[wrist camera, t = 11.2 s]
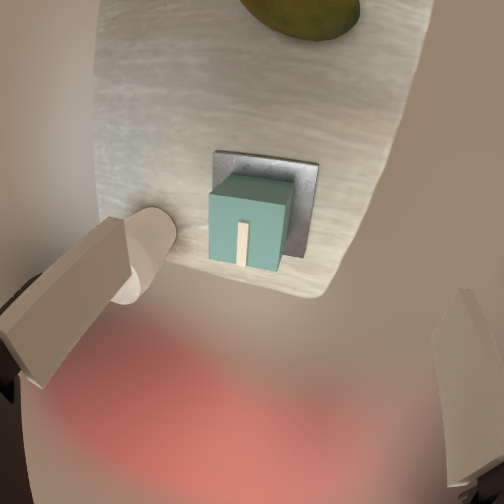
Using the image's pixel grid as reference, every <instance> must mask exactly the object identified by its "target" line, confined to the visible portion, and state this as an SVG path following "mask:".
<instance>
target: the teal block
mask: <svg viewBox="0 0 504 504" xmlns="http://www.w3.org/2000/svg"><path fill="white" fill-rule="evenodd" d="M293 187H294V183H292V182H285V181H279V180H272V179H265V178H258V177H251V176H243V175H235V174H230V175H229V176H228V177H227V178H226V179H225V180H224V181H222V182H221V183H220V184H219V185H218V186H217V187H216V188H215V189H214V190H213V191H212V192H211V193H210V194H209V259H213V260H218V261H223V262H228V263H234V264H236V266H240V267H245V268H246V266H249V267H254V268H260V269H265V270H270V271H275V272H277V270H278V267H279V263H280V260H281V257H282V254H283V250H284V247H285V244H286V240H287V233H288V226H289V218H290V211H291V203H292V195H293Z"/></svg>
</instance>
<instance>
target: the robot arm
mask: <svg viewBox="0 0 504 504" xmlns="http://www.w3.org/2000/svg"><path fill="white" fill-rule="evenodd" d="M131 275H132V272H131V266H130V260H129V254H128V248H127V241H126V234H125V227H124V219H118V218H113V217H108V218H106V219H105V220H104V221H103V222H101V223H100V224H99V225H98V226H97V227H95V228H94V229H93V230H92V231H90V232H89V233H88V234H87V235H86V236H85V237H83V238H82V239H81V240H80V241H79V242H78V243H76V244H75V245H74V246H73V247H72V248H71V249H69V250H68V251H67V252H66V253H65V254H64V255H62V257H60V258H59V259H58V260H57V261H56V262H55V263H54V264H52V265H51V266H50V267H49V268H48V269H47V270H46V271H45V272H44V273H40V274H39V275H37V276H35V277H33V278H32V279H30V280H29V281H28V282H27V283H26V284H25V285H24V286H23V287H22V288H21V290H19V291H18V292H16V293H15V294H14V297H12V298H11V299H10V300H9V301H8V302H7V303H5V305H4V306H3V307H2V308H1V309H0V504H34V503H33V499H32V493H31V489H30V483H29V478H28V472H27V466H26V458H25V451H24V442H23V432H22V418H21V395H20V378H19V376H18V373H19V372H20V370H22V372H23V373H24V375H25V376H26V377H27V379H28V380H29V381H31V382H32V383H34V384H35V385H37V386H38V387H40V388H41V389H43V388H44V387H45V385H46V384H47V382H48V381H49V380H50V378H51V377H52V375H53V374H54V373H55V371H56V370H57V369H58V367H59V365H60V364H61V363H62V362H63V360H64V359H65V358H66V356H67V355H68V354H69V352H70V351H71V350H72V348H73V347H74V346H75V344H76V343H77V342H78V340H79V339H80V338H81V337H82V335H83V334H84V333H85V331H86V330H87V329H88V328H89V326H90V325H91V324H92V323H93V321H94V320H95V319H96V318H97V316H98V315H99V314H100V313H101V311H102V310H103V309H104V307H105V306H106V305H107V304H108V303H109V302H110V300H111V299H112V298H113V297H114V295H115V294H116V293H117V292H118V291H119V289H120V288H121V287H122V286H123V285H124V284H125V282H126V281H127V280H128V279H129V278H130V276H131ZM429 339H430V343H431V348H432V353H433V357H434V363H435V369H436V374H437V380H438V386H439V392H440V399H441V406H442V414H443V423H444V433H445V444H446V458H447V481H448V483H447V486H448V487H454V486H462V485H466V484H468V483H470V482H472V481H474V480H475V479H477V481H478V485H476V486H474V487H473V488H471V489H469V490H467V491H465V492H463V493H461V494H460V495H459V496H458V499H460V498H463V497H464V496H466V495H468V497H467V498H466V499H464V500H463V501H462V502H463V504H504V367H503V364H502V361H501V358H500V355H499V352H498V349H497V347H496V344H495V341H494V338H493V336H492V333H491V330H490V328H489V325H488V323H487V320H486V318H485V316H484V313H483V311H482V309H481V306H480V304H479V302H478V299H477V297H476V295H475V293H474V291H472V290H468V289H463V288H458V290H457V292H456V293H455V295H454V297H453V299H452V301H451V303H450V304H449V306H448V308H447V310H446V311H445V313H444V315H443V317H442V318H441V320H440V322H439V323H438V325H437V327H436V328H435V330H434V331H433V333H432V335H431V336H430V338H429Z"/></svg>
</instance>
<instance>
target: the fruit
mask: <svg viewBox="0 0 504 504" xmlns="http://www.w3.org/2000/svg"><path fill="white" fill-rule="evenodd" d="M240 1H241V2H242V4H243V5H244V6H245V7H246V8H247V9H248V10H249V11H250V12H251V13H252V14H253V15H254V16H255V17H256V18H257V19H259V20H260V21H261V22H263V23H264V24H266V25H267V26H269V27H270V28H272V29H274V30H276V31H278V32H280V33H283V34H286V35H289V36H292V37H295V38H300V39H304V40H311V41H324V40H330V39H334V38H337V37H339V36H341V35H343V34H345V33H346V32H348V31H349V30H350V29H351V28H352V27H353V26H354V25H355V24H356V22H357V21H358V19H359V15H360V4H359V0H240Z"/></svg>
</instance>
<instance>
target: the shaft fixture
mask: <svg viewBox="0 0 504 504" xmlns="http://www.w3.org/2000/svg"><path fill="white" fill-rule="evenodd" d="M317 171H318V164H315V163H309V162H303V161H296V160H289V159H282V158H275V157H268V156H260V155H252V154H243V153H234V152H224V151H215V152H213V190H214V189H215V188H216V187H217V186H218V185H219V184H220V183H221V182H222V181H224V180H225V179H226V178H227V177H228V176H229V175H230V174H235V175H243V176H251V177H258V178H265V179H272V180H279V181H285V182H292V183H294V187H293V195H292V203H291V211H290V218H289V226H288V233H287V240H286V244H285V247H284V250H283V254H282V255H288V256H293V257H299V258H303V257H304V252H305V246H306V241H307V235H308V229H309V223H310V217H311V211H312V204H313V198H314V191H315V185H316V178H317Z"/></svg>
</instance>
